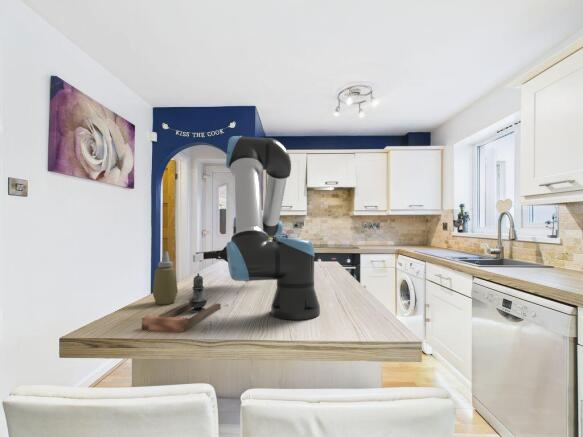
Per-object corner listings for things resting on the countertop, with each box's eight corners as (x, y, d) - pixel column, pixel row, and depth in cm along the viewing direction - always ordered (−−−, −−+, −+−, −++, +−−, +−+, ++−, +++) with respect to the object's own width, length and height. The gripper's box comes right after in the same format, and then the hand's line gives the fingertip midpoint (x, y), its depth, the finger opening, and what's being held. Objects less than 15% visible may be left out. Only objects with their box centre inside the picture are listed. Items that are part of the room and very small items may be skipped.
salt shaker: (201, 313, 93) (202, 274, 93) (184, 312, 94) (184, 274, 94) (210, 308, 99) (211, 271, 99) (194, 307, 100) (194, 271, 100)
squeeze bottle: (171, 306, 102) (172, 252, 103) (148, 306, 102) (148, 252, 103) (181, 300, 110) (181, 250, 111) (158, 300, 110) (159, 250, 111)
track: (220, 308, 99) (220, 299, 99) (183, 332, 77) (183, 320, 77) (187, 306, 101) (187, 297, 102) (141, 329, 79) (141, 317, 79)
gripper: (262, 262, 126) (245, 270, 105) (206, 261, 130) (179, 268, 109) (262, 244, 126) (245, 249, 105) (206, 243, 130) (179, 247, 109)
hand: (211, 258), depth 107 cm, fingers open, 13 cm apart
